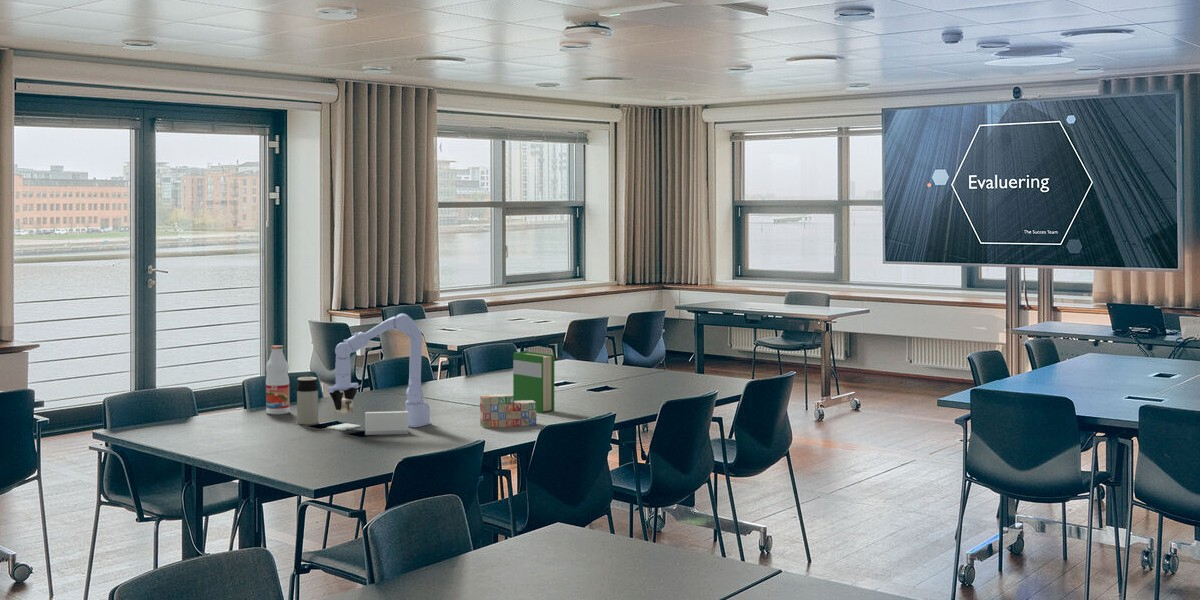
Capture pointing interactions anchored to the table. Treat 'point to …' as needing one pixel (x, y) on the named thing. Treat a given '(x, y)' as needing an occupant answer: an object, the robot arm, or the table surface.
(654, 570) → the table surface
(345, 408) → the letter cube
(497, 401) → the stack of blocks
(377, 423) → the divider screen
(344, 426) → the sage pad
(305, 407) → the travel mug
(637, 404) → the table surface
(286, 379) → the fruit juice
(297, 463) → the table surface
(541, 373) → the hardback book
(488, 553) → the table surface
